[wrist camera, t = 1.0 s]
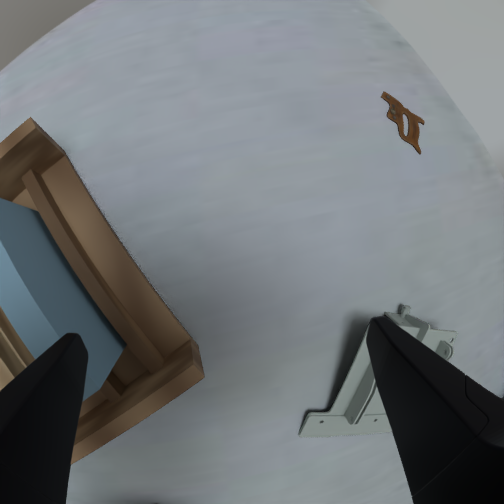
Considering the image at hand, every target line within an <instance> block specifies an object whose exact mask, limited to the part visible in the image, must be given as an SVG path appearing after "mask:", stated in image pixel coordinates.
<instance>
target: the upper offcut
mask: <svg viewBox="0 0 504 504" xmlns="http://www.w3.org/2000/svg"><path fill="white" fill-rule="evenodd" d="M24 369H25V368H24V366H23V365H22V363H21V362H20V361H19V359H18V358H17V356H16V355H15V353H14V352H13V350H12V349H11V347H10V346H9V344H8V343H7V341H6V340H5V338H4V337H3V335H2V333H1V332H0V391H1V390H2V389H3V388H4V387H5V386H6V385H7V384H8V383H9V382H10V381H12V380H13V379H14V378H15V377H16V376H17V375H18V374H19V373H21V372H22V371H23V370H24Z"/></svg>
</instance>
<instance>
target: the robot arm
mask: <svg viewBox="0 0 504 504" xmlns="http://www.w3.org/2000/svg"><path fill="white" fill-rule="evenodd" d="M366 344H367V348H368V352H369V356H370V361H371V365H372V369H373V373H374V378H375V382H376V385H377V389H378V392H379V394H380V397H381V400H382V403H383V406H384V409H385V412H386V415H387V418H388V421H389V424H390V427H391V430H392V433H393V436H394V439H395V442H396V445H397V448H398V452H399V455H400V458H401V461H402V464H403V468H404V471H405V475H406V478H407V481H408V485H409V488H410V492H411V495H412V500H413V503H414V504H504V400H503V399H501V398H500V397H498V396H496V395H495V394H493V393H492V392H490V391H488V390H487V389H485V388H484V387H483V386H481V385H480V384H478V383H477V382H475V381H474V380H473V379H471V378H470V377H469V376H467V375H465V374H464V373H463V372H462V371H460V370H459V369H458V368H456V367H455V366H454V365H452V364H451V363H449V362H448V361H447V360H445V359H444V358H443V357H441V356H440V355H438V354H437V353H436V352H434V351H433V350H432V349H430V348H429V347H427V346H426V345H425V344H423V343H422V342H420V341H419V340H418V339H416V338H415V337H413V336H412V335H411V334H409V333H408V332H406V331H405V330H404V329H402V328H401V327H399V326H398V325H397V324H395V323H394V322H392V321H391V320H390V319H388V318H387V317H385V316H379V317H373V318H372V319H371V321H370V324H369V328H368V332H367V336H366ZM87 365H88V351H87V348H86V346H85V344H84V342H83V340H82V338H81V336H80V335H79V334H78V333H66V334H65V335H63V336H62V337H61V338H60V339H59V340H58V341H56V342H55V343H54V344H53V345H52V346H50V347H49V348H48V349H47V350H46V351H45V352H43V353H42V354H41V355H40V356H39V357H38V358H37V359H35V360H34V361H33V362H32V363H31V364H30V365H28V366H27V367H26V368H25V369H24V370H23V371H22V372H21V373H19V374H18V375H17V376H16V377H15V378H14V379H13V380H12V381H10V382H9V383H8V384H7V385H6V386H5V387H4V388H3V389H2V390H1V391H0V504H66V497H67V488H68V481H69V473H70V466H71V460H72V454H73V448H74V442H75V436H76V431H77V426H78V421H79V416H80V411H81V406H82V401H83V396H84V388H85V380H86V372H87Z"/></svg>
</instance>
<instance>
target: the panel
mask: <svg viewBox="0 0 504 504" xmlns="http://www.w3.org/2000/svg"><path fill="white" fill-rule="evenodd" d="M0 306H1V308H2V310H3V311H4V313H5V315H6V316H7V318H8V320H9V321H10V323H11V324H12V326H13V328H14V329H15V331H16V332H17V334H18V335H19V337H20V338H21V340H22V341H23V343H24V344H25V346H26V347H27V349H28V350H29V351H30V353H31V354H32V356H33V357H34V358H35V359H37V358H38V357H39V356H40V355H41V354H42V353H43V352H45V351H46V350H47V349H48V348H49V347H50V346H52V345H53V344H54V343H55V342H56V341H58V340H59V339H60V338H61V337H62V336H63V335H65V334H66V333H78V334H79V335H80V336H81V338H82V340H83V342H84V344H85V346H86V348H87V351H88V365H87V372H86V380H85V388H84V396H83V401H84V400H86V399H87V398H88V397H90V396H91V395H92V394H94V393H95V392H97V391H98V390H99V389H100V388H101V387H102V385H103V383H104V382H105V380H106V378H107V377H108V375H109V373H110V372H111V370H112V368H113V367H114V365H115V363H116V362H117V360H118V358H119V357H120V355H121V353H122V352H123V350H124V349H125V347H126V345H127V344H126V342H125V341H124V340H123V339H122V337H121V336H120V335H119V333H118V332H117V331H116V330H115V328H114V327H113V326H112V324H111V323H110V322H109V320H108V319H107V318H106V316H105V315H104V314H103V312H102V311H101V309H100V308H99V307H98V305H97V304H96V302H95V301H94V300H93V298H92V297H91V295H90V294H89V292H88V291H87V290H86V288H85V287H84V285H83V284H82V282H81V281H80V279H79V278H78V276H77V275H76V273H75V272H74V270H73V268H72V267H71V265H70V264H69V262H68V261H67V259H66V257H65V256H64V254H63V253H62V251H61V249H60V248H59V246H58V244H57V243H56V241H55V239H54V238H53V236H52V234H51V233H50V231H49V229H48V227H47V226H46V224H45V222H44V220H43V219H42V217H41V215H40V213H39V211H36V210H33V209H30V208H27V207H24V206H22V205H19V204H16V203H13V202H10V201H7V200H5V199H2V198H0ZM83 401H82V402H83Z"/></svg>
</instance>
